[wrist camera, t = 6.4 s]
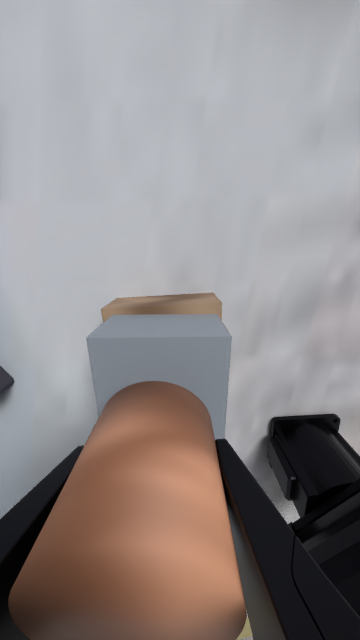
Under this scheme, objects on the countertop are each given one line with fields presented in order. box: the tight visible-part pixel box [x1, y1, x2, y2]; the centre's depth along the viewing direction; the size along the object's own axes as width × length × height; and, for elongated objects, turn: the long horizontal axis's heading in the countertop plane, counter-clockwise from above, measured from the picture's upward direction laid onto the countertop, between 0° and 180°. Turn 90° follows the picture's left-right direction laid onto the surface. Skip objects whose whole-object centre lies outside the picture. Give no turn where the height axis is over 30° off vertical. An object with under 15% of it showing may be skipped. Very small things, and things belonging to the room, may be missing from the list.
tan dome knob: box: [8, 381, 247, 640], centre depth 7 cm, size 5×5×5 cm
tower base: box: [101, 293, 222, 323], centre depth 17 cm, size 8×8×4 cm
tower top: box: [86, 314, 232, 440], centre depth 13 cm, size 7×7×4 cm
